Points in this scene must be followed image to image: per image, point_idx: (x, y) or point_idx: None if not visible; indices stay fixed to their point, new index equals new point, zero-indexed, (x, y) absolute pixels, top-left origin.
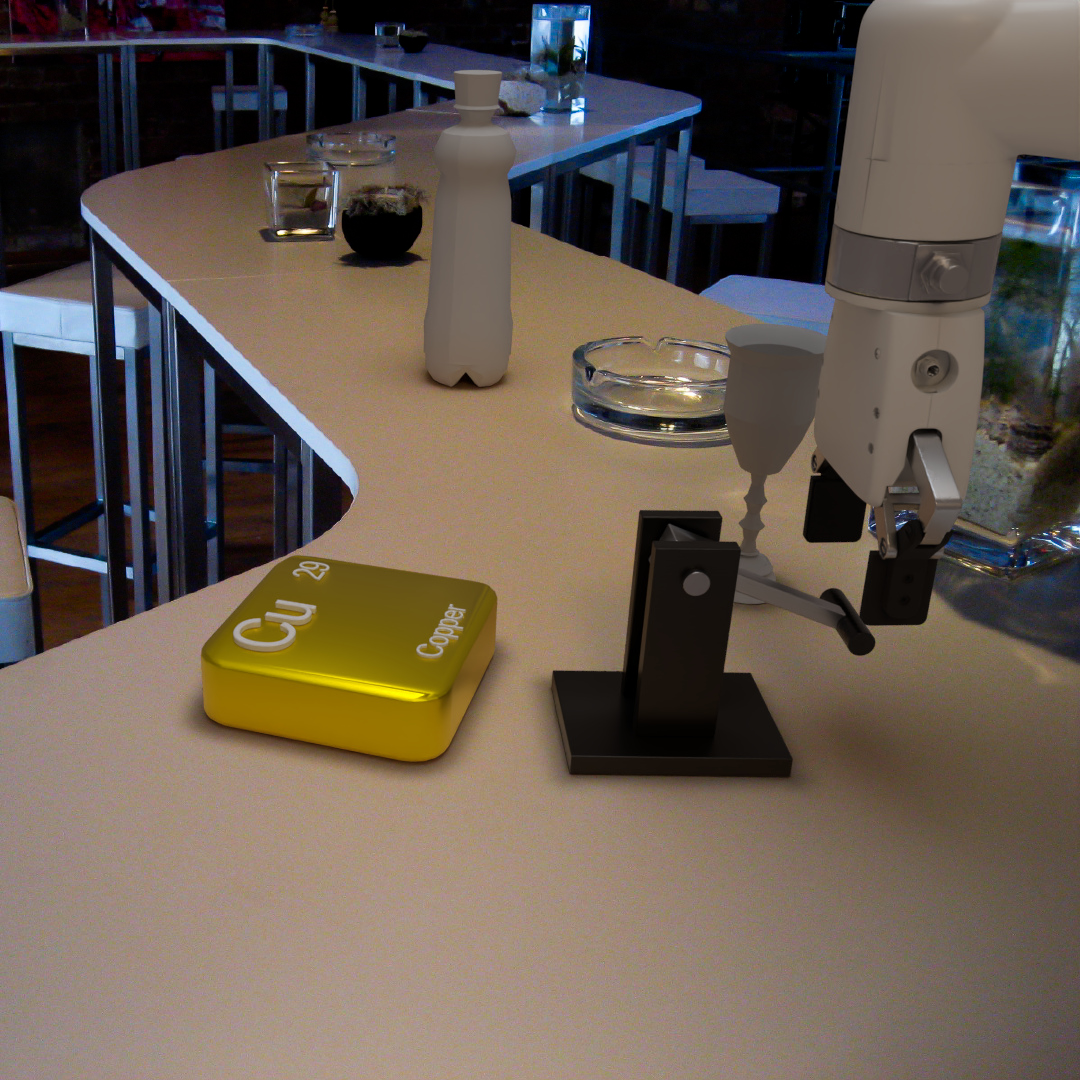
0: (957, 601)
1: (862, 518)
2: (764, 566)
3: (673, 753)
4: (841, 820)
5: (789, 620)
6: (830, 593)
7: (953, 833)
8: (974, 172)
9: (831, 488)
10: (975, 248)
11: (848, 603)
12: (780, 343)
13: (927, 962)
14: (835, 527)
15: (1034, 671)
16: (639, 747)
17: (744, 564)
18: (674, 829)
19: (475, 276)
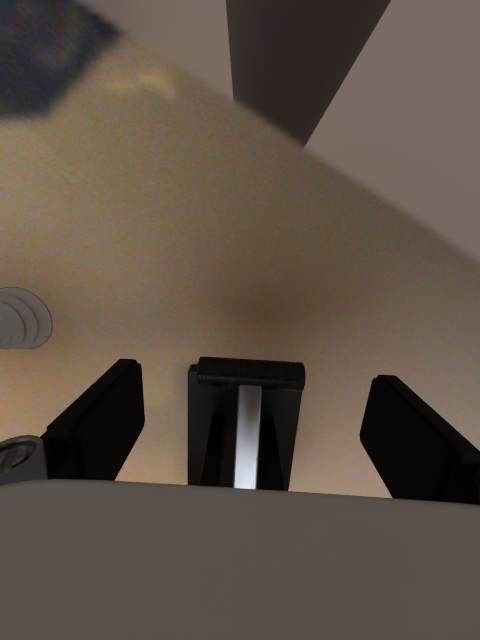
0: (7, 102)
1: (123, 382)
2: (6, 315)
3: (290, 446)
4: (348, 355)
5: (76, 297)
6: (208, 383)
7: (373, 289)
8: None
9: (97, 479)
10: None
11: (235, 374)
12: None
13: (476, 355)
14: (133, 409)
15: (151, 91)
16: (281, 463)
17: (7, 335)
18: (341, 446)
19: None
